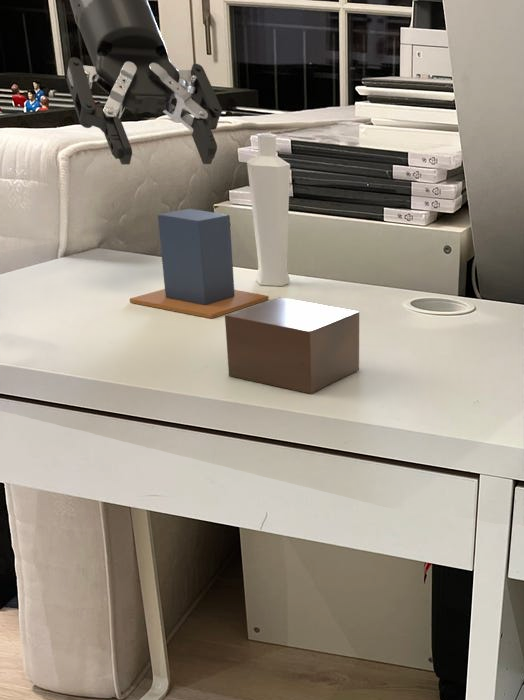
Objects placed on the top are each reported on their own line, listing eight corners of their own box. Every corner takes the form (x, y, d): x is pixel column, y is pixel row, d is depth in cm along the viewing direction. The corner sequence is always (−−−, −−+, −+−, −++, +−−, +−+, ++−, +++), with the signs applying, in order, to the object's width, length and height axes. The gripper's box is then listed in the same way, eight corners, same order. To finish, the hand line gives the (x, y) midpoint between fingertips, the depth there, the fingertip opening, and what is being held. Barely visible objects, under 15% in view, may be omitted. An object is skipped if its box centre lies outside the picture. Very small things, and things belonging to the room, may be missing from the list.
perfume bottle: (265, 288, 108) (258, 137, 100) (246, 280, 111) (237, 132, 103) (301, 285, 111) (297, 137, 103) (281, 276, 114) (276, 132, 106)
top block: (205, 305, 99) (199, 220, 95) (165, 297, 100) (157, 214, 96) (235, 296, 103) (229, 214, 99) (195, 289, 104) (189, 208, 100)
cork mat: (211, 318, 96) (211, 314, 96) (129, 302, 99) (129, 298, 99) (268, 299, 104) (268, 295, 104) (191, 285, 107) (191, 281, 107)
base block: (311, 394, 79) (309, 331, 77) (228, 376, 82) (224, 315, 79) (359, 370, 86) (359, 311, 83) (281, 354, 88) (279, 296, 85)
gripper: (47, -17, 93) (104, 132, 92) (190, -4, 101) (245, 133, 99) (40, 45, 99) (93, 185, 98) (175, 52, 107) (226, 182, 105)
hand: (169, 159), depth 99 cm, fingers open, 8 cm apart
